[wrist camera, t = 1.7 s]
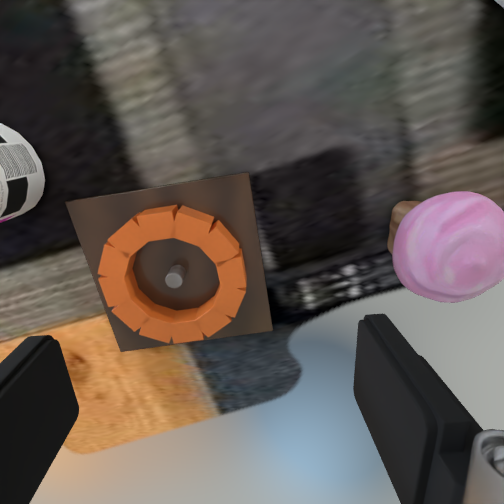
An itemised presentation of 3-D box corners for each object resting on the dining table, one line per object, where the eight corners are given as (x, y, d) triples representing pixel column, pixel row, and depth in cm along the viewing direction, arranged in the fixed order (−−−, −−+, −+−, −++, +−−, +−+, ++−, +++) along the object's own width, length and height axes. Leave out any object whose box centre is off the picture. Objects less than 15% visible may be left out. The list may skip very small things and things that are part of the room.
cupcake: (370, 182, 30) (425, 208, 21) (463, 175, 30) (561, 198, 21) (364, 269, 33) (410, 324, 24) (448, 263, 33) (527, 316, 24)
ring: (232, 195, 30) (231, 201, 27) (254, 319, 34) (254, 332, 32) (90, 218, 30) (77, 225, 28) (131, 336, 35) (124, 350, 33)
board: (248, 171, 30) (249, 176, 27) (272, 326, 36) (274, 342, 33) (69, 200, 30) (52, 207, 28) (123, 347, 36) (113, 364, 34)
